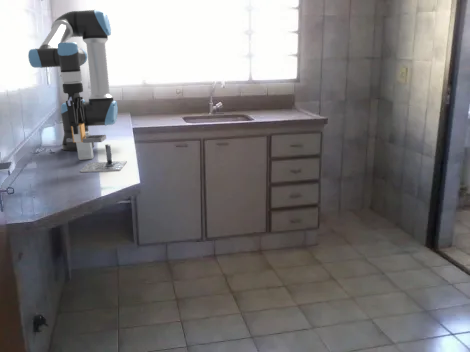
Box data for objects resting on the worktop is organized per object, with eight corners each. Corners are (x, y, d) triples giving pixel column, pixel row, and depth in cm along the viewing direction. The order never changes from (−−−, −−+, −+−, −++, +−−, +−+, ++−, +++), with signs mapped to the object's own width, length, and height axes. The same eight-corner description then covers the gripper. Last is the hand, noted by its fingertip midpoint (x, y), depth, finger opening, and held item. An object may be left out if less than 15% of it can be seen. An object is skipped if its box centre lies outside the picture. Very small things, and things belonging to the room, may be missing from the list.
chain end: (64, 143, 198) (61, 126, 196) (70, 139, 205) (68, 123, 203) (101, 142, 197) (99, 124, 195) (106, 138, 204) (104, 121, 202)
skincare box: (94, 157, 223) (90, 130, 220) (92, 159, 219) (88, 132, 216) (80, 158, 223) (76, 131, 219) (78, 160, 218) (74, 133, 215)
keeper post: (89, 164, 211) (86, 142, 208) (126, 162, 211) (124, 141, 208) (80, 172, 198) (77, 149, 196) (120, 170, 198) (117, 147, 195)
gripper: (70, 81, 203) (77, 136, 209) (54, 85, 187) (63, 145, 193) (88, 80, 203) (95, 136, 209) (74, 84, 186) (82, 144, 193)
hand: (79, 140), depth 201 cm, fingers closed on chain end, 4 cm apart
